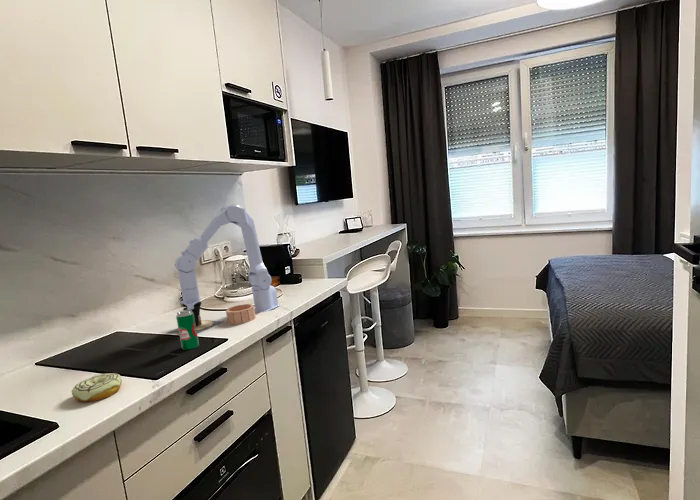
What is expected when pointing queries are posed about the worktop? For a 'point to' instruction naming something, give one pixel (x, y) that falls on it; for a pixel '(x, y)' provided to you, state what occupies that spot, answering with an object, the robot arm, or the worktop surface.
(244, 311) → the bowl
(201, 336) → the worktop surface
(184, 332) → the soda can
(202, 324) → the lid
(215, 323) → the mat
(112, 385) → the decorated donut
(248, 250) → the robot arm
